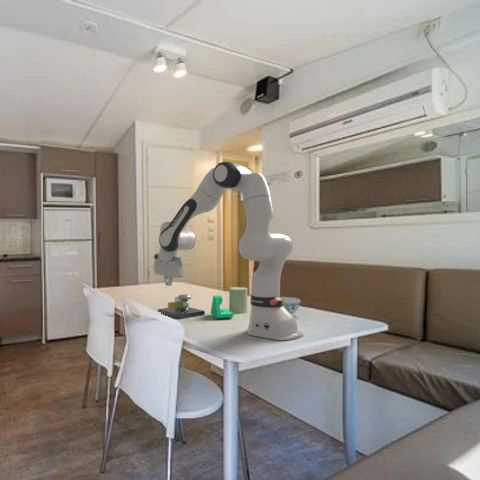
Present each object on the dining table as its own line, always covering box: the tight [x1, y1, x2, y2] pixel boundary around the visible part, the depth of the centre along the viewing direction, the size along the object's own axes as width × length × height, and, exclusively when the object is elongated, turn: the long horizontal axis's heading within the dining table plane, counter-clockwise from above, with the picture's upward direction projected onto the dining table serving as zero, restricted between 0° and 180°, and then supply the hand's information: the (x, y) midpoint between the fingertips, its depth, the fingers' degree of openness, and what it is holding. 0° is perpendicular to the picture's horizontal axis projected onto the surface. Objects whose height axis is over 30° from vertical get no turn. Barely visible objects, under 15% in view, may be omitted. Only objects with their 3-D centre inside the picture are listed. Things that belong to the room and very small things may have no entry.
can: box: [228, 286, 248, 314], centre depth 204 cm, size 9×9×12 cm
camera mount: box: [210, 294, 234, 320], centre depth 190 cm, size 12×8×10 cm, turn 18°
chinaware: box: [281, 296, 301, 315], centre depth 194 cm, size 15×15×8 cm
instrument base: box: [157, 295, 206, 320], centre depth 196 cm, size 18×14×8 cm
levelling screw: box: [167, 293, 192, 311], centre depth 192 cm, size 12×6×7 cm, turn 134°
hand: (168, 285), depth 195 cm, fingers closed
